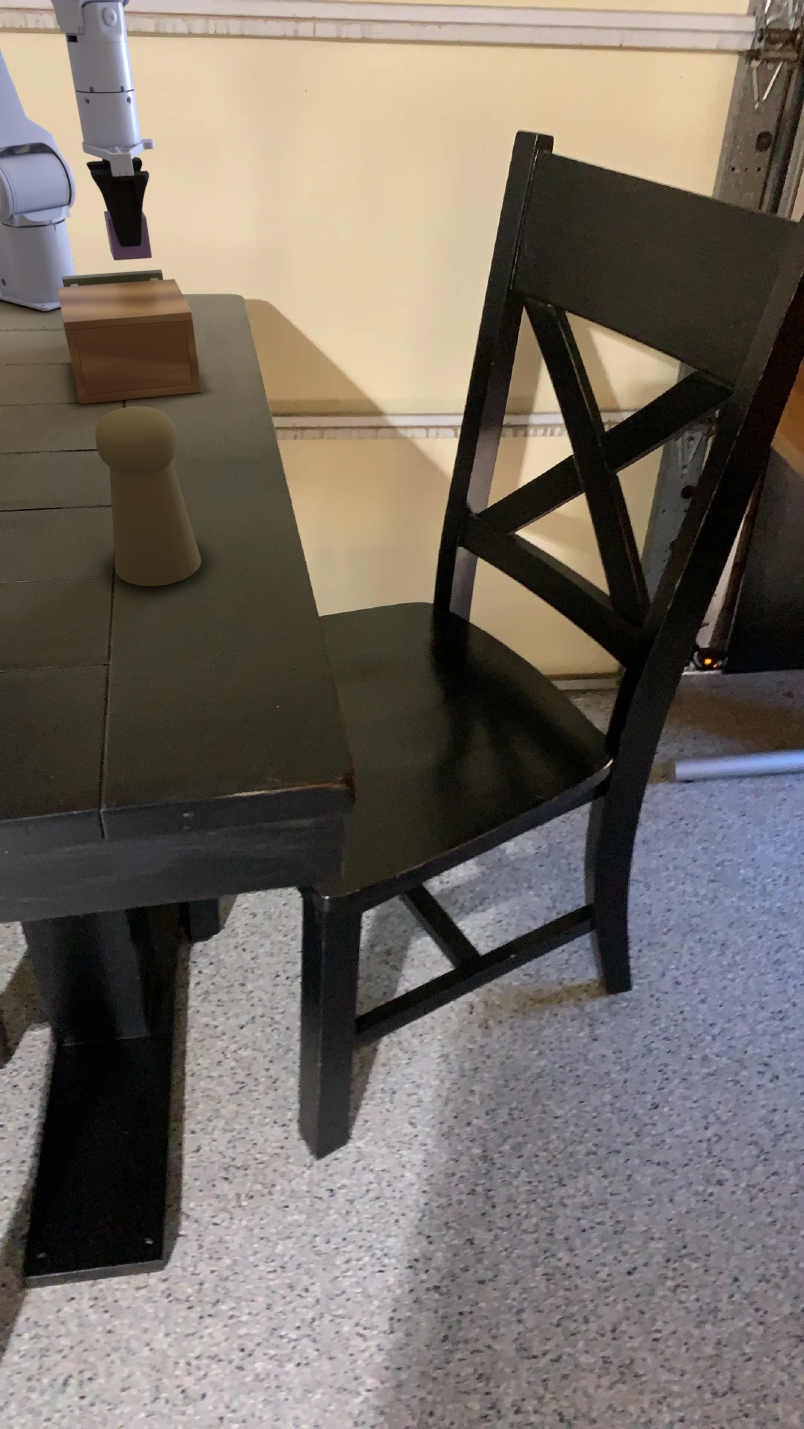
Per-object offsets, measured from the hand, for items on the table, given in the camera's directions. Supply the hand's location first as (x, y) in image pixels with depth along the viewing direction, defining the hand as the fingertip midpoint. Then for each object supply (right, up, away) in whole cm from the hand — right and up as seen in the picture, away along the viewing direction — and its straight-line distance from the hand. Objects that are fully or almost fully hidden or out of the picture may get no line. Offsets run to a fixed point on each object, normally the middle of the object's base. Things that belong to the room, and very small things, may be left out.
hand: (128, 240), depth 102 cm
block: (0, -1, +1) cm, 1 cm away
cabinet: (+2, -17, -6) cm, 18 cm away
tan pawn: (+12, -40, -34) cm, 54 cm away
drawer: (-1, -10, +1) cm, 10 cm away
